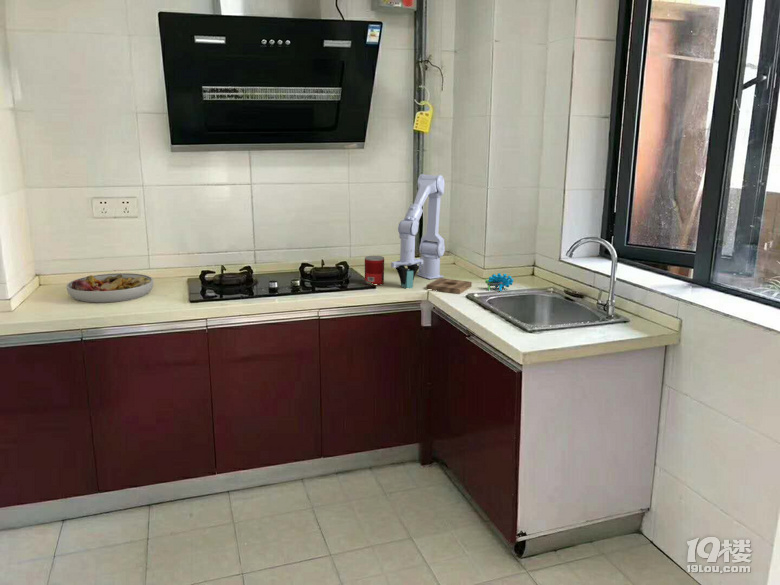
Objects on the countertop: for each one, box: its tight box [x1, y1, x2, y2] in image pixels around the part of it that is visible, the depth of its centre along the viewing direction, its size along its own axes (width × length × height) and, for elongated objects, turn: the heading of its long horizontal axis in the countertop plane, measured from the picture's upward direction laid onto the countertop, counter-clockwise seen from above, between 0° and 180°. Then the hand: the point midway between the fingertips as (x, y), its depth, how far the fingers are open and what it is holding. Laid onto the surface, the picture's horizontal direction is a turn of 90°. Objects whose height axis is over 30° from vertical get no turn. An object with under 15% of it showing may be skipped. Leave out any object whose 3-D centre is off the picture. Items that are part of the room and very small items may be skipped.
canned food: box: [364, 255, 385, 286], centre depth 264 cm, size 8×8×11 cm
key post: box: [400, 267, 414, 289], centre depth 259 cm, size 4×3×8 cm
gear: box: [484, 272, 514, 292], centre depth 257 cm, size 11×6×10 cm
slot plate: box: [426, 277, 473, 295], centre depth 259 cm, size 14×14×2 cm
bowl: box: [66, 272, 154, 304], centre depth 242 cm, size 30×30×8 cm
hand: (406, 283), depth 260 cm, fingers open, 3 cm apart
